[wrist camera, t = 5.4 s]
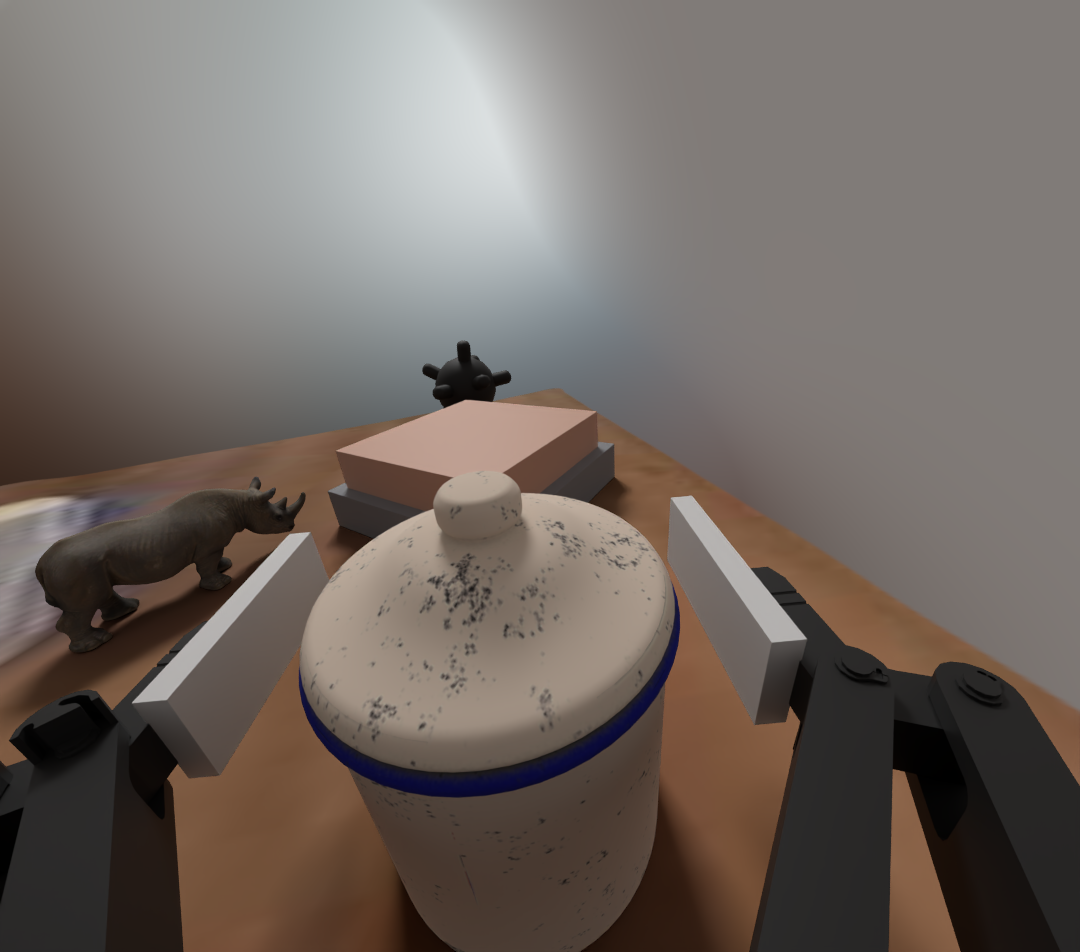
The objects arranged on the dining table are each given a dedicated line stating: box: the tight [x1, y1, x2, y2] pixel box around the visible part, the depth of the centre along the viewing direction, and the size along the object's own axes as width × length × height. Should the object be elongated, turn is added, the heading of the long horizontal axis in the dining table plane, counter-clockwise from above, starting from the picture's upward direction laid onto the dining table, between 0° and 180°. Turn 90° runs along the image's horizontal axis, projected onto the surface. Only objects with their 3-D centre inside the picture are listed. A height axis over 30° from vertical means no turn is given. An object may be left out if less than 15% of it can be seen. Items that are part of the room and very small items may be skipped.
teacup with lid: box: [299, 471, 680, 952], centre depth 13 cm, size 12×9×12 cm
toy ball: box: [422, 341, 511, 409], centre depth 52 cm, size 11×11×12 cm
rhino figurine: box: [35, 477, 306, 652], centre depth 26 cm, size 4×14×6 cm, turn 142°
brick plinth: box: [328, 400, 614, 539], centre depth 32 cm, size 16×16×6 cm
